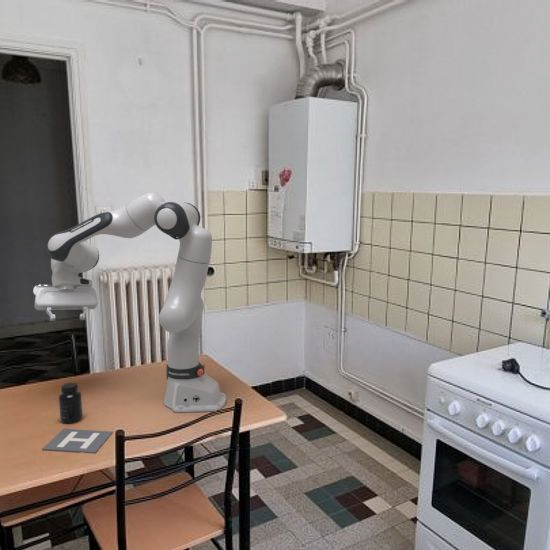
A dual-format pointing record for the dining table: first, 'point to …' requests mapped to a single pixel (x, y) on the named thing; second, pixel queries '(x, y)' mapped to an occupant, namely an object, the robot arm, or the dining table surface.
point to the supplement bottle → (70, 404)
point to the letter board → (78, 441)
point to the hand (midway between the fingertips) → (67, 319)
